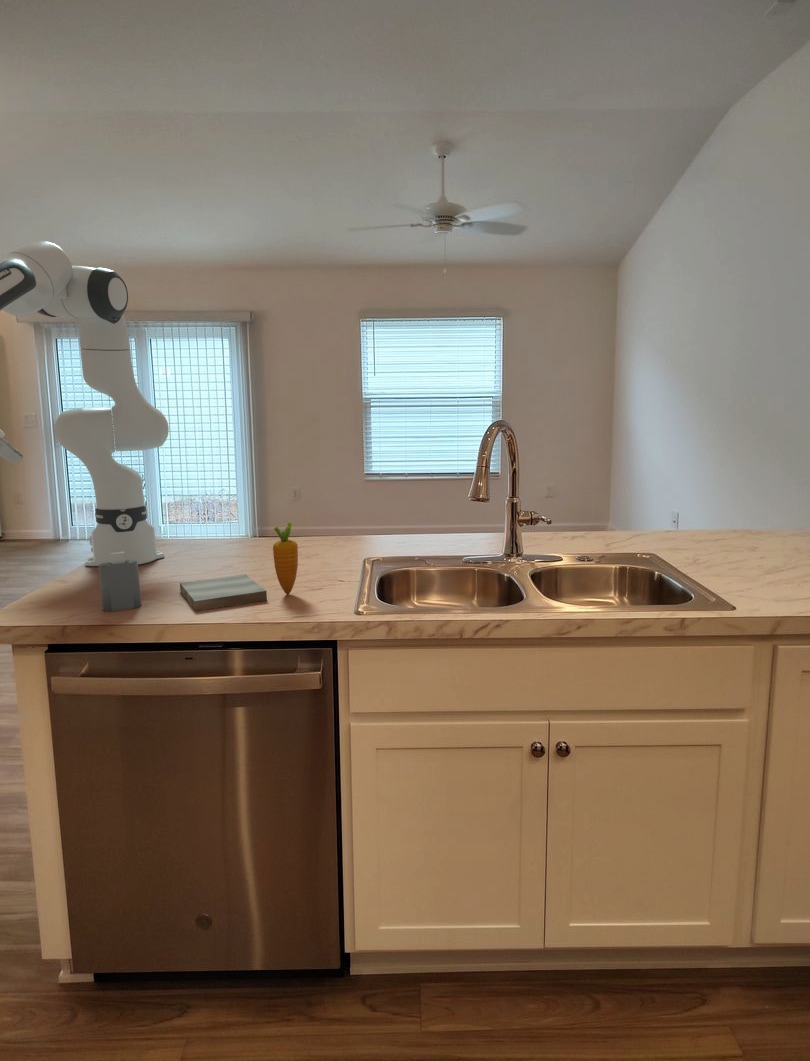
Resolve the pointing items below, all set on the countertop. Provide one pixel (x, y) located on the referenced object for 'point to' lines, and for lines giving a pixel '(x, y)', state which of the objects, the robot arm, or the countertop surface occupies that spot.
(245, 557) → the countertop surface
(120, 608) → the block
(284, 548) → the carrot
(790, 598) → the countertop surface
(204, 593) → the striped sage slab
